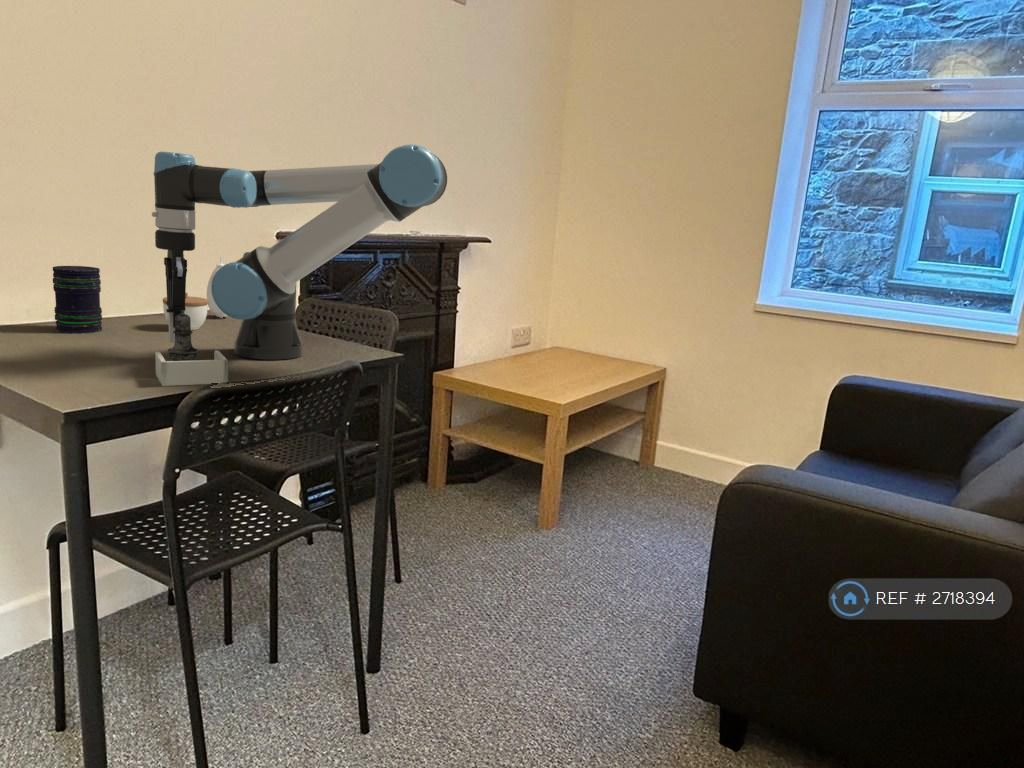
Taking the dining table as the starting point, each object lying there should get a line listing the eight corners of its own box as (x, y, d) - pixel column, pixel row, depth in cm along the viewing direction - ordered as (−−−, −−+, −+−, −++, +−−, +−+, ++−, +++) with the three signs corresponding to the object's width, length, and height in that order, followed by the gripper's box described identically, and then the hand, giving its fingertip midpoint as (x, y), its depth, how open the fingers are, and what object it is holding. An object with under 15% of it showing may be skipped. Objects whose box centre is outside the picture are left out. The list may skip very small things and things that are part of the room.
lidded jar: (164, 324, 191) (163, 289, 189) (207, 325, 196) (207, 291, 193) (162, 331, 182) (161, 294, 180) (208, 332, 186) (208, 296, 184)
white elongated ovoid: (204, 319, 204) (204, 254, 200) (208, 314, 212) (208, 252, 207) (234, 320, 206) (234, 257, 202) (237, 316, 214) (237, 254, 210)
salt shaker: (167, 364, 150) (165, 307, 148) (197, 363, 153) (197, 307, 150) (168, 370, 145) (167, 311, 143) (200, 370, 148) (199, 312, 145)
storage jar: (52, 333, 169) (48, 269, 165) (58, 325, 177) (55, 264, 174) (100, 334, 173) (98, 271, 169) (104, 326, 181) (102, 267, 178)
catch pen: (218, 371, 148) (218, 350, 147) (227, 383, 140) (228, 360, 139) (155, 374, 142) (155, 351, 141) (162, 386, 134) (161, 362, 133)
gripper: (151, 226, 153) (153, 336, 158) (159, 231, 142) (160, 348, 148) (189, 229, 157) (190, 335, 162) (200, 233, 146) (200, 347, 152)
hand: (176, 341), depth 155 cm, fingers closed
